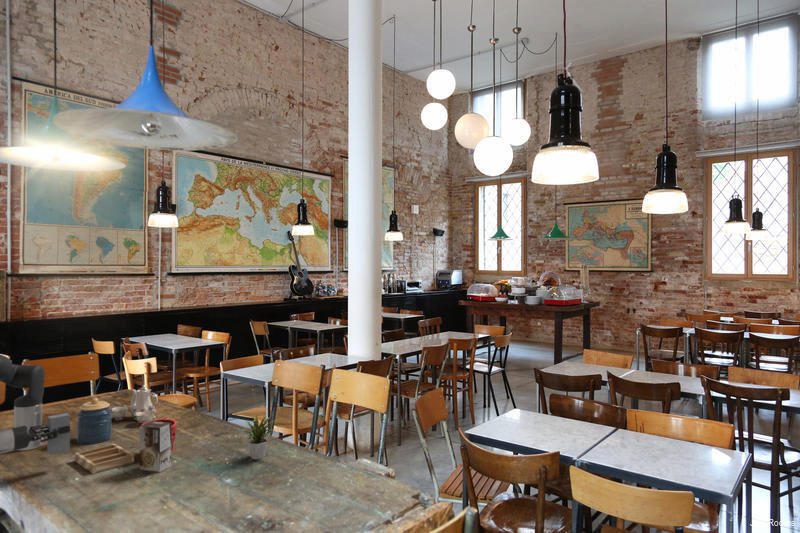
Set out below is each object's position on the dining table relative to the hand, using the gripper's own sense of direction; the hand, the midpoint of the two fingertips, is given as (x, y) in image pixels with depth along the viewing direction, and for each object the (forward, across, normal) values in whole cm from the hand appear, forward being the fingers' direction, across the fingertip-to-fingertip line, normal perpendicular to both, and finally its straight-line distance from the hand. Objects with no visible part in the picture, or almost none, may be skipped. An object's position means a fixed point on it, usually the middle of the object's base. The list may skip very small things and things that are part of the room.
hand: (67, 427), depth 187 cm
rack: (+11, -4, +15) cm, 19 cm away
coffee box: (+21, -24, +15) cm, 35 cm away
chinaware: (+42, +40, +16) cm, 61 cm away
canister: (+18, +26, +15) cm, 35 cm away
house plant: (+51, -44, +15) cm, 69 cm away
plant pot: (+28, -11, +15) cm, 34 cm away
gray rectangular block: (-3, 0, +8) cm, 8 cm away
